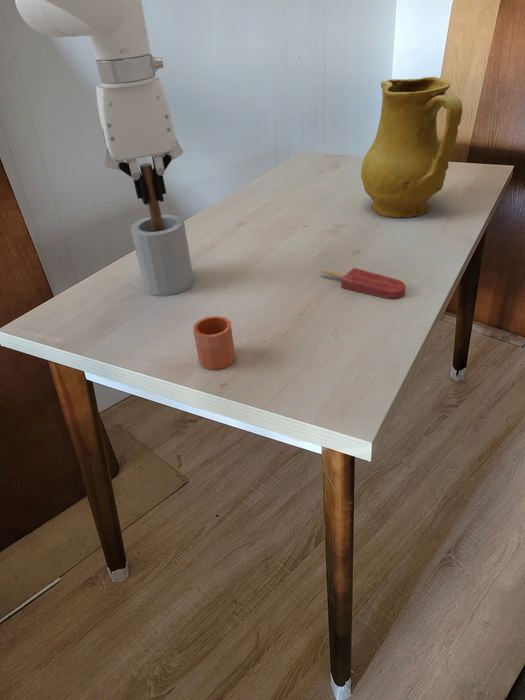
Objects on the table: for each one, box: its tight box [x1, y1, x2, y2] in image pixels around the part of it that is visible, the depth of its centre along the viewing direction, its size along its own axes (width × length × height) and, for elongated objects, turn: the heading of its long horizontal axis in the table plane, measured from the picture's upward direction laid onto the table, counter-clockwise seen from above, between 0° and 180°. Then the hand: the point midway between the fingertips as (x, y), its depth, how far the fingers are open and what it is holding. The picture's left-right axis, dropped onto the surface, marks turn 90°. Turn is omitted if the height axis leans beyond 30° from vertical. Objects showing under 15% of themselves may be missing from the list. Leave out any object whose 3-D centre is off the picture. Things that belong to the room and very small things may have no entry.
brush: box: [139, 162, 164, 232], centre depth 86 cm, size 3×3×20 cm
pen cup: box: [192, 315, 236, 371], centre depth 71 cm, size 5×5×6 cm
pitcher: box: [360, 76, 463, 219], centre depth 105 cm, size 17×19×25 cm
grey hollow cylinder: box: [130, 214, 194, 297], centre depth 89 cm, size 9×9×11 cm
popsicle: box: [320, 267, 406, 300], centre depth 86 cm, size 4×2×15 cm
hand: (152, 199), depth 83 cm, fingers closed on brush
